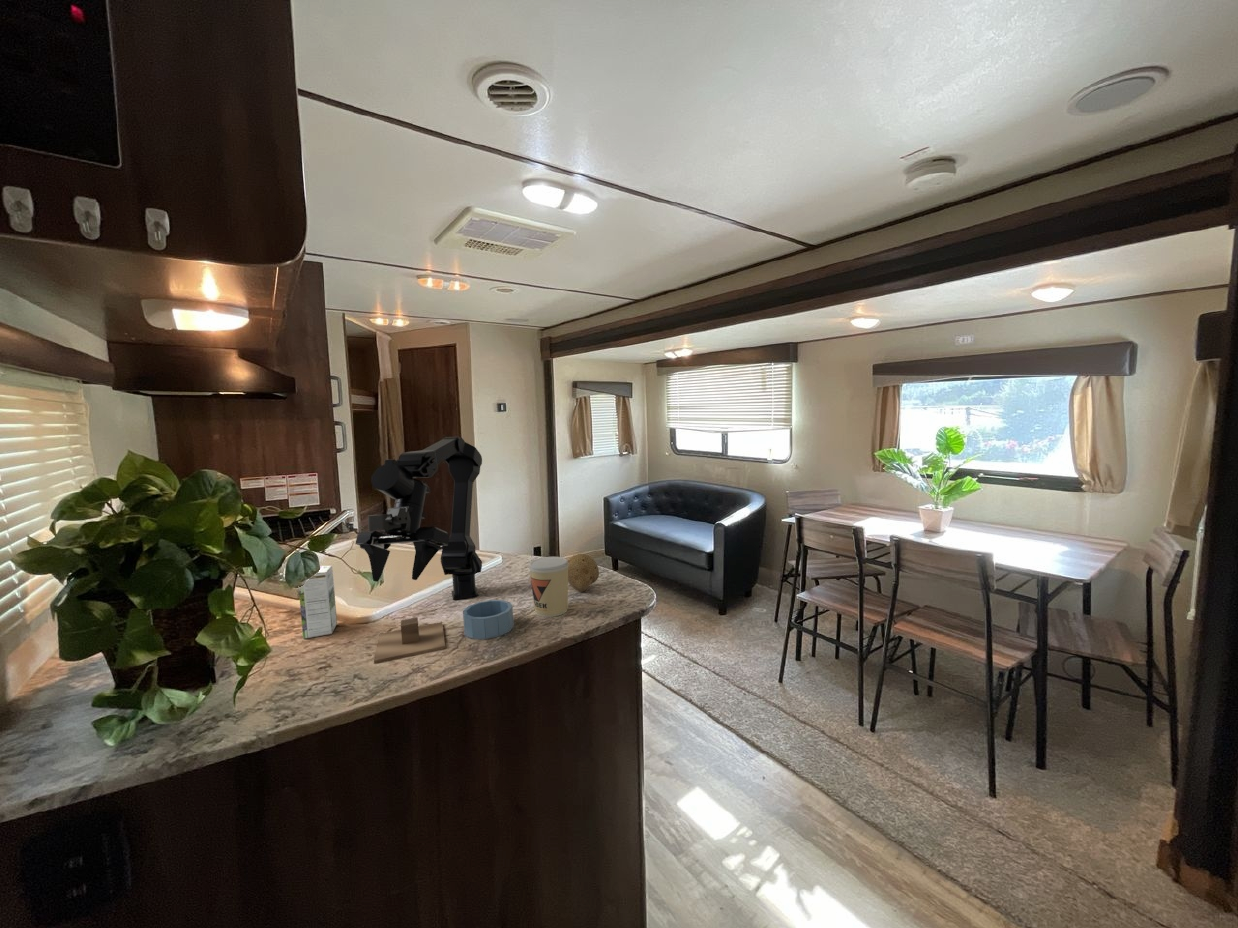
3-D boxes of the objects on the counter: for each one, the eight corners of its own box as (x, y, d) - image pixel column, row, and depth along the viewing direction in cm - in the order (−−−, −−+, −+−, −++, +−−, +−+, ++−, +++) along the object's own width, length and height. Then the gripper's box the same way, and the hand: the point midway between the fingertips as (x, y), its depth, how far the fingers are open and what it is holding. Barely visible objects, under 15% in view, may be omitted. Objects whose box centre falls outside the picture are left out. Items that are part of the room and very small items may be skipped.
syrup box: (309, 629, 110) (302, 568, 109) (338, 624, 112) (332, 564, 111) (302, 639, 105) (295, 575, 104) (333, 634, 107) (326, 571, 106)
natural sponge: (585, 582, 134) (583, 547, 133) (607, 589, 127) (605, 553, 126) (559, 591, 128) (557, 554, 127) (580, 599, 121) (578, 561, 120)
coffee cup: (524, 611, 115) (521, 562, 114) (556, 600, 121) (553, 553, 120) (545, 622, 108) (542, 570, 107) (578, 609, 114) (576, 561, 113)
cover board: (379, 639, 105) (377, 616, 104) (442, 627, 110) (440, 605, 109) (374, 666, 93) (372, 640, 92) (445, 651, 98) (443, 626, 97)
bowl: (462, 624, 109) (461, 605, 109) (508, 615, 113) (507, 596, 113) (467, 643, 100) (465, 622, 99) (517, 632, 104) (515, 612, 103)
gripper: (343, 498, 98) (324, 575, 92) (422, 490, 93) (407, 571, 87) (382, 513, 108) (367, 584, 101) (455, 507, 103) (444, 581, 97)
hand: (394, 580), depth 96 cm, fingers open, 9 cm apart
